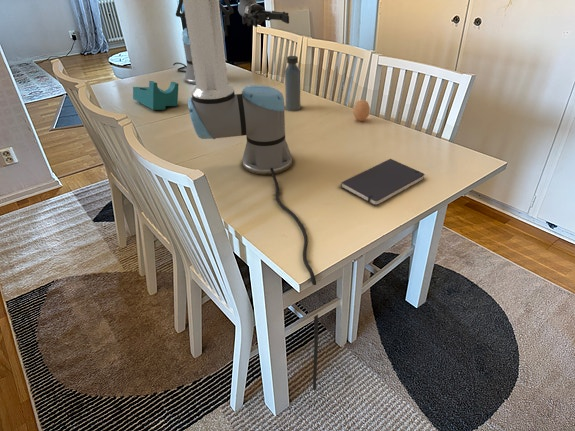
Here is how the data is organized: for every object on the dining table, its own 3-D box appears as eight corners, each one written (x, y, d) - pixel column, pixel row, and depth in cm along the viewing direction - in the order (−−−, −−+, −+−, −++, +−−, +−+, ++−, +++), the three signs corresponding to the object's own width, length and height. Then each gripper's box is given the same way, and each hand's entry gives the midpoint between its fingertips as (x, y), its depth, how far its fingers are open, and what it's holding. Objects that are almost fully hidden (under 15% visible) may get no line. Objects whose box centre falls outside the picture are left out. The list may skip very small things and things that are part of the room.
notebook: (389, 163, 124) (340, 187, 113) (390, 158, 123) (341, 182, 112) (424, 178, 116) (375, 206, 105) (425, 174, 115) (376, 201, 104)
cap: (289, 60, 155) (288, 55, 154) (299, 61, 154) (299, 56, 153) (285, 63, 152) (285, 58, 151) (295, 64, 151) (295, 58, 150)
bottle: (288, 104, 167) (287, 55, 155) (302, 106, 165) (302, 56, 154) (283, 109, 162) (282, 59, 151) (297, 111, 161) (297, 60, 149)
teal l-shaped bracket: (177, 109, 169) (178, 83, 164) (152, 109, 162) (153, 82, 157) (156, 99, 180) (157, 74, 175) (133, 98, 172) (133, 73, 168)
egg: (358, 124, 148) (359, 103, 143) (349, 119, 153) (351, 98, 148) (372, 121, 150) (374, 100, 145) (363, 116, 154) (364, 95, 150)
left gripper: (282, 20, 183) (301, 28, 167) (229, 25, 176) (243, 35, 160) (281, 1, 179) (300, 8, 163) (227, 6, 172) (241, 14, 156)
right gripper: (235, -35, 140) (241, 31, 152) (161, -31, 136) (173, 36, 149) (237, -33, 134) (243, 36, 146) (160, -30, 130) (172, 40, 143)
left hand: (272, 21), depth 161 cm, fingers open, 13 cm apart
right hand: (208, 36), depth 147 cm, fingers open, 13 cm apart
